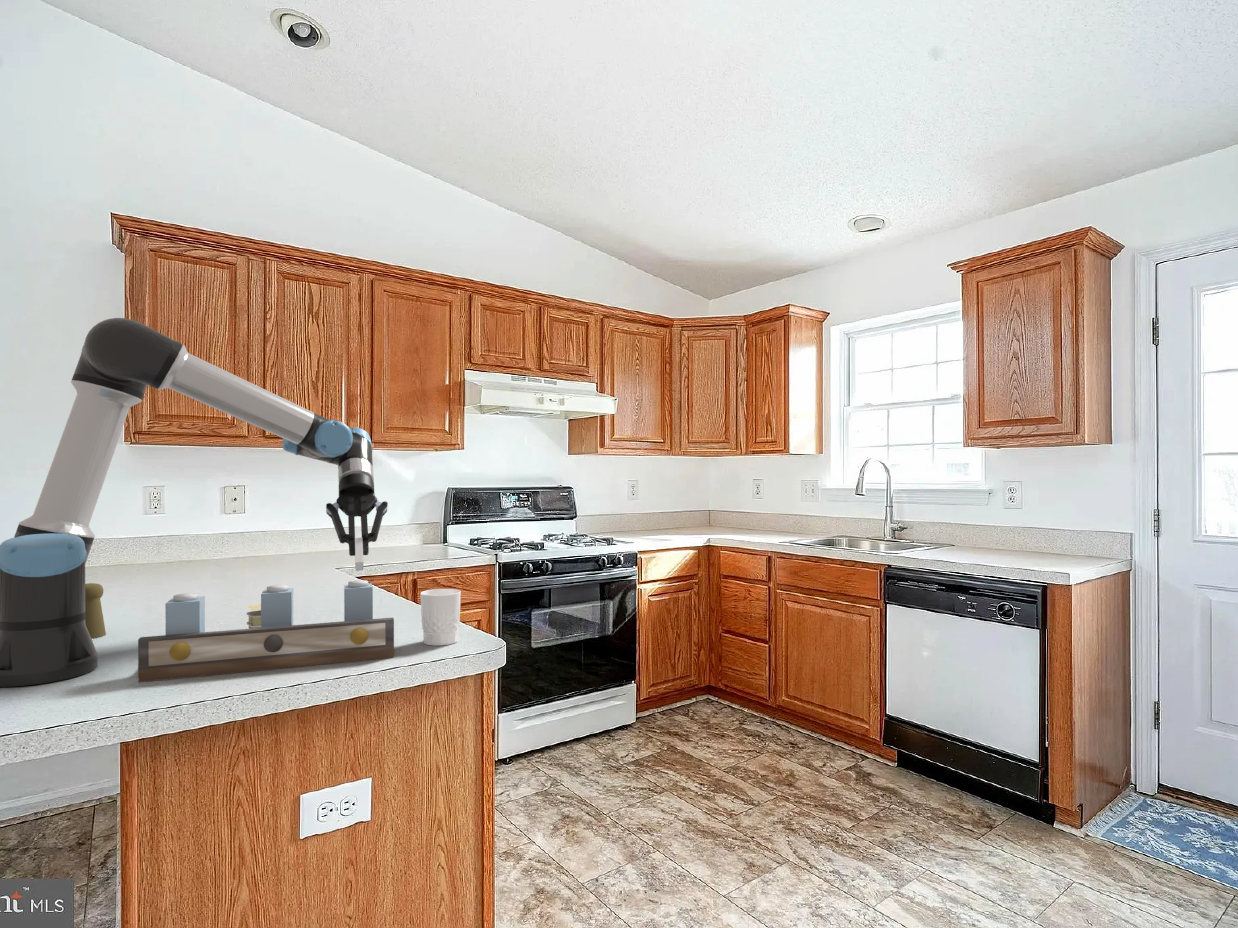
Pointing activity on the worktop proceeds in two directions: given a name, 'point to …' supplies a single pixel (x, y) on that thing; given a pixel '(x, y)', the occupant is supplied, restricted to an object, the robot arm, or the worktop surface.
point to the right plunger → (358, 600)
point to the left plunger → (185, 614)
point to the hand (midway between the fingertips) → (359, 566)
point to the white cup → (440, 616)
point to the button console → (263, 648)
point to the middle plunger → (277, 606)
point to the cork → (94, 610)
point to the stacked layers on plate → (254, 617)
